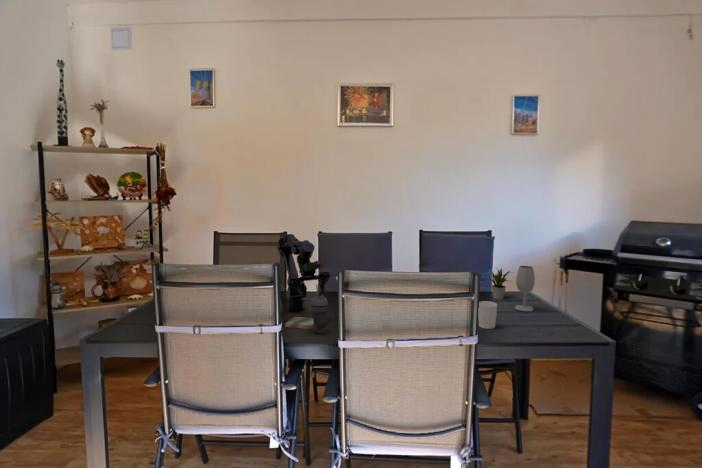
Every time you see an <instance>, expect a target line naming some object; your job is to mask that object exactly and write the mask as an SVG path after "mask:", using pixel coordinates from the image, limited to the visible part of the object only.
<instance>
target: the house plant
mask: <svg viewBox="0 0 702 468" xmlns="http://www.w3.org/2000/svg"><path fill="white" fill-rule="evenodd" d="M496 268H497V269H496V270H497V273H496V274H495V273H494V272H493V271H492V270H491V269H488V271H489V274H490V275H491V276H492V279H491V278H489V279H488V281H491V282H492V283H493V285H491V288H492V289H491V290H492V296H493V299H496V300H503V299H504V298H505V294H506V293H505V292H506V288H507V286H505V285H504V284H505V283H506V284H507V283H508V282H511V281H513V280H512V279H511V280H508V278H509V276H510V275H509V274H511V273H515V272H512V271H511V270H508V271H507V272H506V273H504V274H503V267H501V268H500V269H499V268H498V267H496ZM511 283H512V282H511Z"/></svg>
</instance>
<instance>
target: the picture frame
mask: <svg viewBox="0 0 702 468" xmlns="http://www.w3.org/2000/svg"><path fill="white" fill-rule="evenodd" d="M284 327H285V328H292V329H293V328H294V329H302V330H303V329H304V330H312V329H313V328H314V322H313V317H304V316H303V317H302V316H293V317H292V318H290V319H288V321H286V322H285V323H284Z"/></svg>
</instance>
